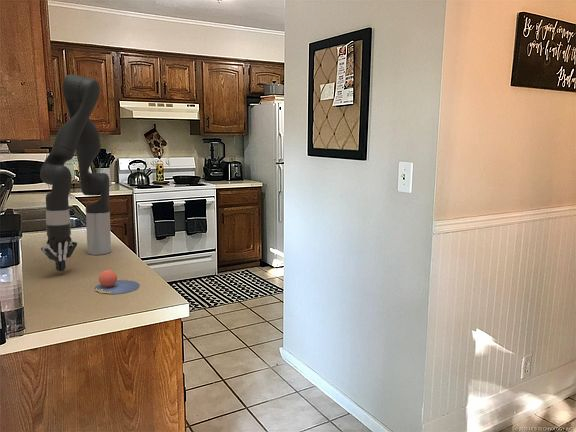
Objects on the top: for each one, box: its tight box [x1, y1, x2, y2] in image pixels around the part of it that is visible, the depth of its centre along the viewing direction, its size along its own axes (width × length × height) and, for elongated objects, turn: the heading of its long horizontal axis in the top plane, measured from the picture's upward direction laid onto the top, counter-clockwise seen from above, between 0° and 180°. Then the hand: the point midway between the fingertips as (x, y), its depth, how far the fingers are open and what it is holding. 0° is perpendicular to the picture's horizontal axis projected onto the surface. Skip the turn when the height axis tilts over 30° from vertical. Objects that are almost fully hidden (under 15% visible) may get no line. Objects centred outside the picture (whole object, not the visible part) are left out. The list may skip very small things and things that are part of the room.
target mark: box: [93, 279, 141, 295], centre depth 156 cm, size 14×14×1 cm
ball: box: [98, 269, 118, 287], centre depth 156 cm, size 6×6×6 cm
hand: (61, 270), depth 168 cm, fingers closed
